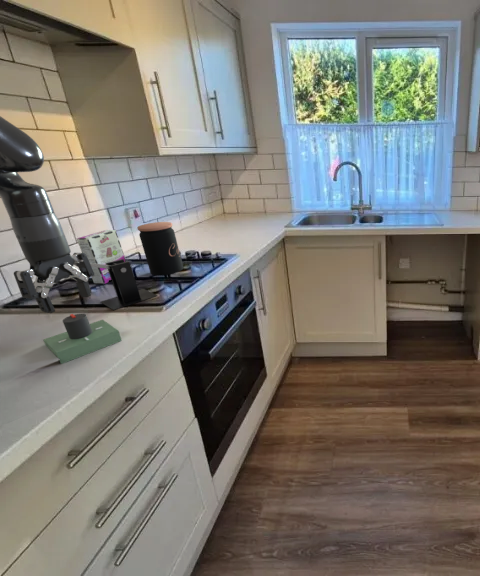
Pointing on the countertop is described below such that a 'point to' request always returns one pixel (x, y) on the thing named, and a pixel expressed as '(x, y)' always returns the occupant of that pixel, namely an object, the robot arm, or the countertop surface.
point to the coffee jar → (160, 248)
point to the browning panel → (83, 342)
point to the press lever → (99, 265)
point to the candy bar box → (101, 252)
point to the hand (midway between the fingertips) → (69, 304)
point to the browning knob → (77, 326)
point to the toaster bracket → (125, 286)
